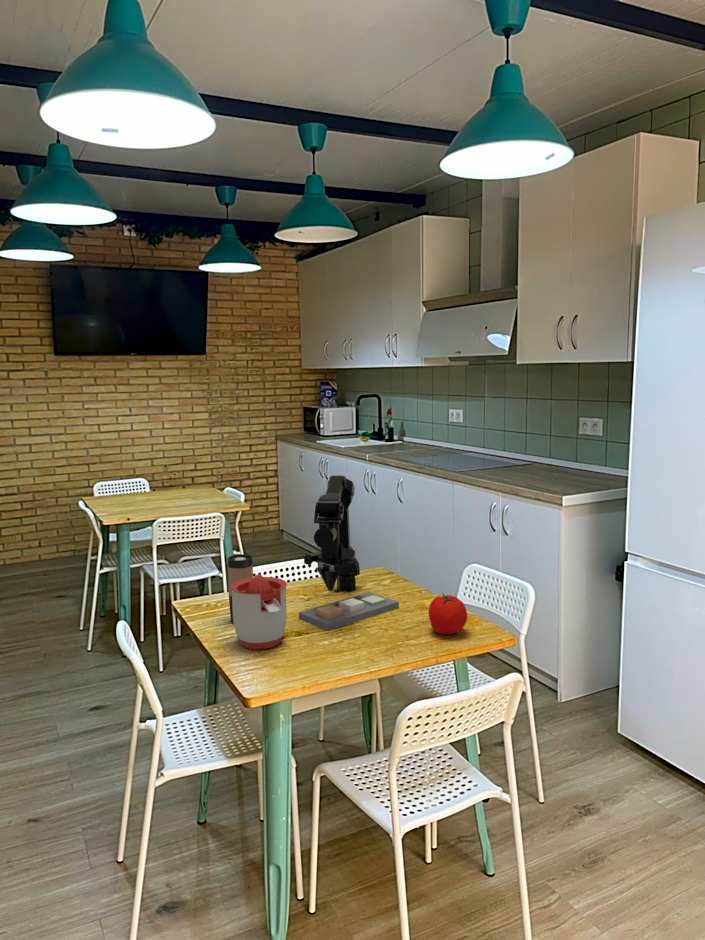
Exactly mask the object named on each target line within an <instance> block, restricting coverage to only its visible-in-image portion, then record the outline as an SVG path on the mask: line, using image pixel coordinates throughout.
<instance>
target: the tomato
mask: <svg viewBox="0 0 705 940" xmlns="http://www.w3.org/2000/svg"><path fill="white" fill-rule="evenodd" d="M441 593H442V596H436V597H434V598H433V599H432V601H431V602H430V604H429V606H428V618H429V619H428V620H429V622H430V626H431V628H432V629H433V631H434V632H435V633H436V634H442V635H450V634H456V633H458V632H460V631H461V630H463V628H464V627H465V625H466V623H467V620H468V612H467V608H466V605H465V604H464V602H463V601H462V600H461V599H460V598H458V597H457V596H453V595H450V594H446V595H445V593H444V592H443V591H442V592H441Z"/></svg>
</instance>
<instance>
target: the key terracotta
mask: <svg viewBox="0 0 705 940" xmlns="http://www.w3.org/2000/svg"><path fill="white" fill-rule="evenodd" d="M316 615H317V616H319V617H322V618H324V619H327V620H328V619H332V618H335V617H338V616H342V609H341V608H338V607H336V606H333V605H327V606H324V607H320V608H317V609H316Z"/></svg>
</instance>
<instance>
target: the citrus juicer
mask: <svg viewBox="0 0 705 940" xmlns="http://www.w3.org/2000/svg"><path fill="white" fill-rule="evenodd" d="M287 586H288V584H287V581H286V580H284V579H282V578H279V577H271V576H263V575H261V574H260V573H258V574H256V575H255V576H253V578H247V579H242V580H239V581H237V582H235V583H233V584H232V585H231V589H232V608H233V622H234V624H233V626H234V627H233V628H234V630H235V633H236V637H237V640H238V641H239V644H240V645H241V646H242V647H244V648H246V649H250V650H252V651H253V650H254V651H258V650H266V649H270V648H273V647H276V646H278V645H280V644H281V642H282V640H283V637H284V636H285V630H286V627H287V620H288V619H287V618H288V617H287V616H288V614H287V612H288V611H287Z"/></svg>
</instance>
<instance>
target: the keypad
mask: <svg viewBox="0 0 705 940" xmlns="http://www.w3.org/2000/svg"><path fill="white" fill-rule="evenodd" d="M372 595H375V596H378V597H381V598H384V599H386V602H384V603H381V604H377V605H374V606H371V605H368V604H365V603H364V609H361V610H358V611H355V612H351V613H350V612H347V611H345V610H342V616H338V617H335V618H332V619H328V620H327V619H324V618H322V617H319V616H317V615H316V609H317V608H320V607H324V606H327V605H333V606H336V607H338V608H339V602H341V601H344V600H348V599H351V598H354V599H357V600H359V601H361V599H362V598H366V597H369V596H372ZM399 605H400V603H399V600H398V601H397V600H394V599H391V598H388V597H386V596H382V595H379V594H377V593H373V592H370V591H368V592H365V593H361V594H358V595H354V596H351V597H346V598H344V599H340V600H336V601H334V602H330V603H327V604H322V605H320V606H315V607H312V608H308V609H305V610H302V611H299V612H298V620H300V621H303V622H306V623H308V624H310V625H313V626H315V627H318V628H319V629H322V630H325V631H327V632H329V631H331V630H334V629H337V628H341V627H344V626H347V625H350V624H354V623H356V622H359V621H364V620H366V619H369V618H372V617H375V616H378V615H382V614H385V613H388V612H390V611H394V610H398V609H399V608H400V606H399Z"/></svg>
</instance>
